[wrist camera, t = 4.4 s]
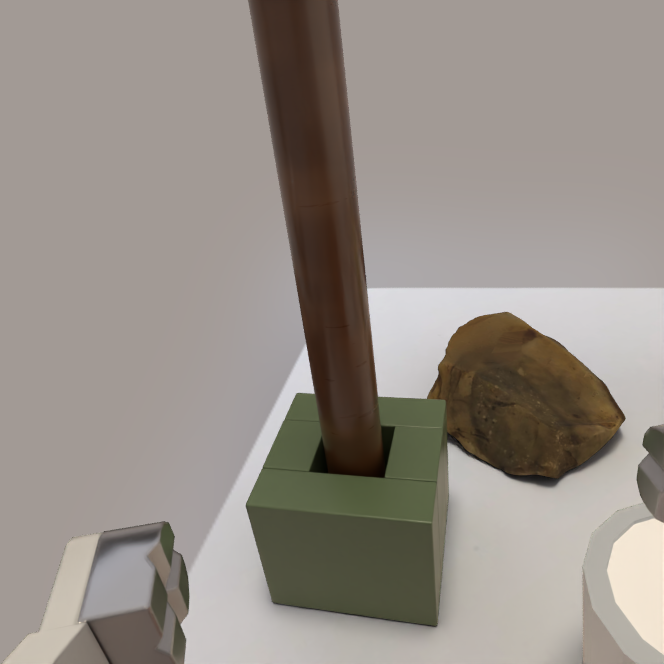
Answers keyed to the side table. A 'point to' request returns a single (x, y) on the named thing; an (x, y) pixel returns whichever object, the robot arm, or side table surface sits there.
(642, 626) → the shot glass
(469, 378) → the decorative stone
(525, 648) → the side table surface
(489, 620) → the side table surface
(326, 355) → the brown cylindrical stick
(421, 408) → the stick holder
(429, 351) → the side table surface
